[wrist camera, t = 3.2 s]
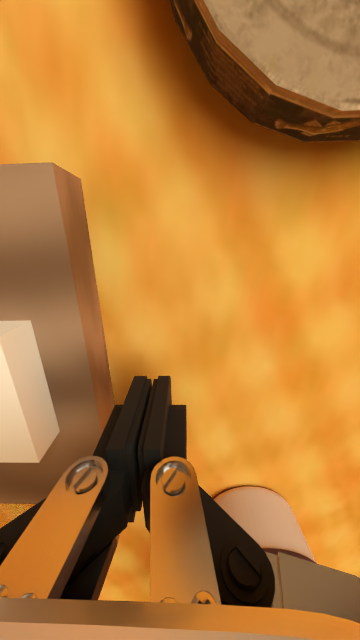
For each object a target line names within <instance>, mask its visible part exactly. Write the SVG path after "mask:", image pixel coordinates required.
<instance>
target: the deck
mask: <svg viewBox="0 0 360 640" xmlns="http://www.w3.org/2000/svg"><path fill="white" fill-rule="evenodd" d="M28 320H31V324H32V328H33V331H34V335H35V339H36V343H37V347H38V350H39V354H40V358H41V362H42V366H43V369H44V373H45V377H46V381H47V385H48V388H49V392H50V396H51V400H52V404H53V407H54V411H55V415H56V419H57V423H58V426H59V430H60V432H59V433H58V435H57V436H56V438H55V439H54V441H53V442H52V444H51V445H50V447H49V448H48V450H47V451H46V453H45V454H44V456H43V457H42V459H41V460H40V462H39V463H0V503H14V504H38V503H39V502H40V501H42V500H43V499H45V498H46V497H48V496H49V494H50V493H51V491H52V490H53V488H54V487H55V485H56V484H57V482H58V481H59V480H60V478H61V477H62V475H63V474H64V472H65V471H66V470H67V469H68V468H69V466H71V465H72V464H73V463H75V462H76V461H78V460H80V459H82V458H84V457H88V456H92V455H93V453H94V451H95V449H96V446H97V444H98V442H99V440H100V437H101V435H102V433H103V431H104V428H105V426H106V424H107V422H108V419H109V417H110V415H111V413H112V410H113V408H114V406H115V405H114V398H113V392H112V385H111V378H110V372H109V365H108V359H107V352H106V345H105V339H104V332H103V325H102V319H101V312H100V305H99V299H98V292H97V285H96V279H95V272H94V265H93V259H92V252H91V245H90V239H89V232H88V225H87V219H86V212H85V206H84V199H83V192H82V186H81V179H80V178H78V177H76V176H74V175H73V174H71V173H69V172H68V171H66V170H64V169H62V168H61V167H59V166H57V165H55V164H54V163H26V164H0V321H28Z"/></svg>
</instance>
